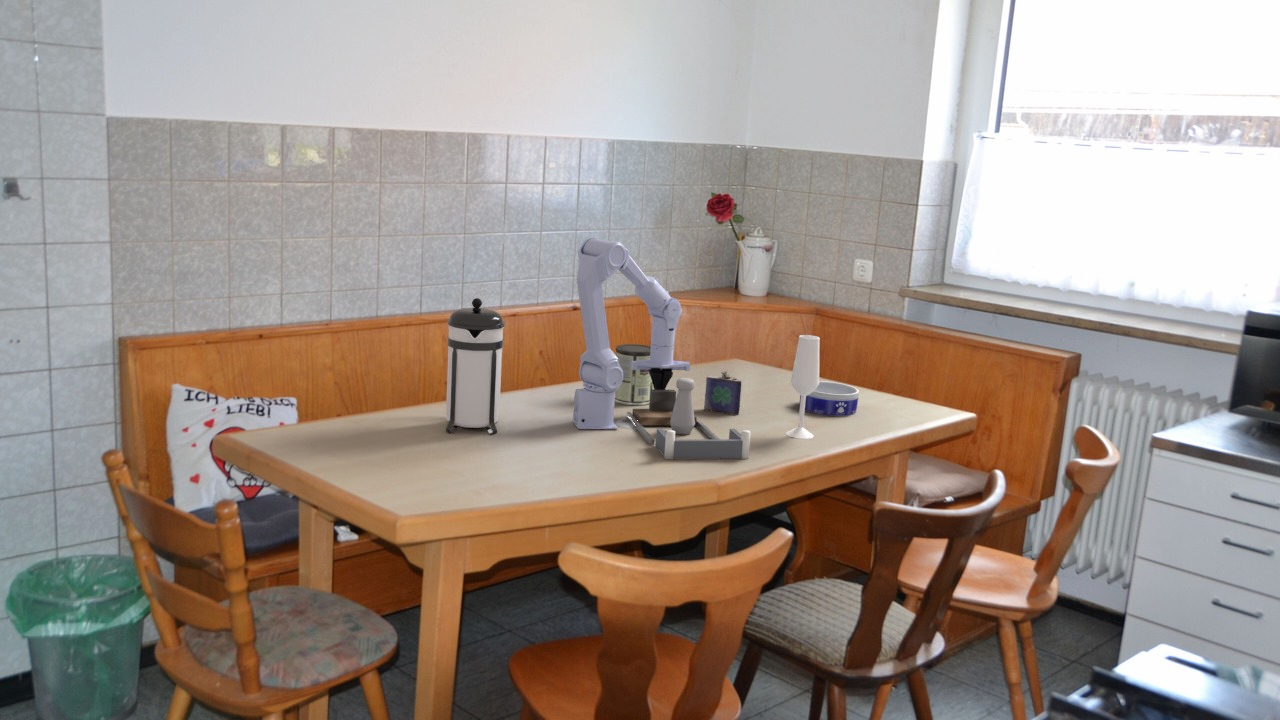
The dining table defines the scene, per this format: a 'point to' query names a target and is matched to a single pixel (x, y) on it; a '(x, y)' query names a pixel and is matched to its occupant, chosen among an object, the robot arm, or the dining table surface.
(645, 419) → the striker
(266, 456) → the dining table surface
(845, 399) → the dog bowl
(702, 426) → the rails
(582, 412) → the robot arm
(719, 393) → the flask
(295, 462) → the dining table surface
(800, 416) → the champagne flute
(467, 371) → the coffee press
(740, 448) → the frame
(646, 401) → the coffee can
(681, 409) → the salt shaker
